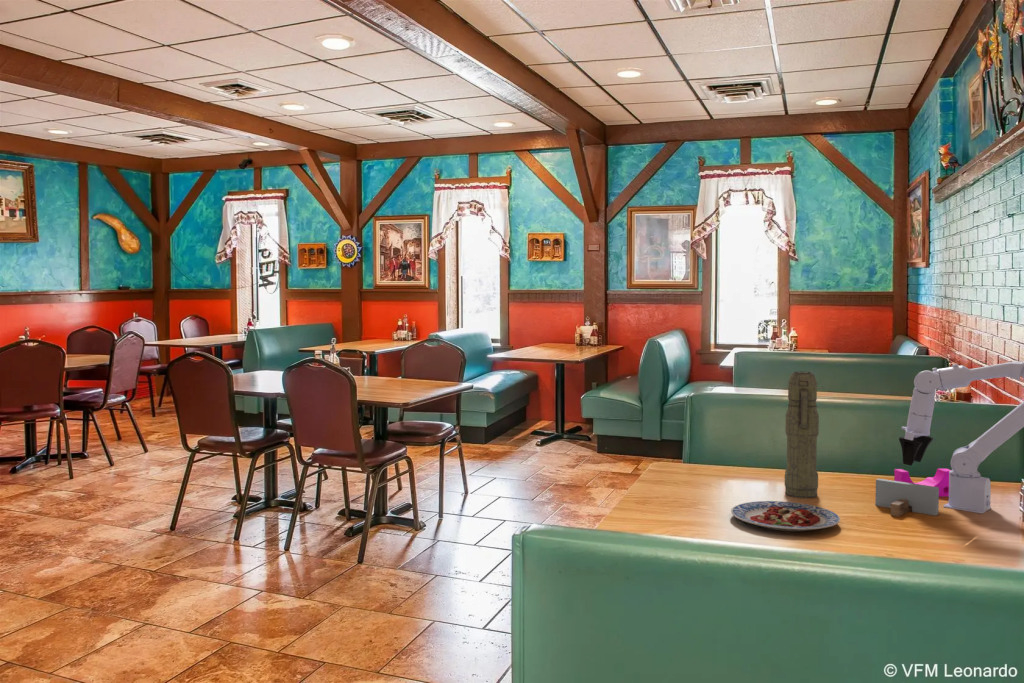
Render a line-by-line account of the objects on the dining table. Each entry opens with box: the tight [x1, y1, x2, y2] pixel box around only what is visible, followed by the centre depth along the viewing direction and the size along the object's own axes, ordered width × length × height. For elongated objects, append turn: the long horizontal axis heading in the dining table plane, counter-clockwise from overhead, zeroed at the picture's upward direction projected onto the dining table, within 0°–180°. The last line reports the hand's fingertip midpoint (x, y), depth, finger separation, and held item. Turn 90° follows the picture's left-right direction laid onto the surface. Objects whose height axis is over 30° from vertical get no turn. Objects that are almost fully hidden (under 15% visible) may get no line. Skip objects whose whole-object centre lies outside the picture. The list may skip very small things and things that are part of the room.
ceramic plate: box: [730, 500, 841, 532], centre depth 200 cm, size 26×26×3 cm
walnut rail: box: [890, 499, 912, 517], centre depth 211 cm, size 17×2×3 cm, turn 135°
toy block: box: [893, 468, 952, 498], centre depth 227 cm, size 15×6×8 cm, turn 92°
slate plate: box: [875, 478, 940, 517], centre depth 210 cm, size 15×2×7 cm, turn 45°
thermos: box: [784, 371, 820, 499], centre depth 226 cm, size 9×12×35 cm
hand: (911, 462), depth 219 cm, fingers open, 7 cm apart
